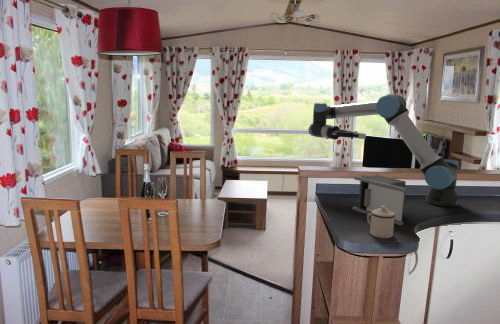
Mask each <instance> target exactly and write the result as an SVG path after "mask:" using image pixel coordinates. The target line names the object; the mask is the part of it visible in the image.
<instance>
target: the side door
mask: <svg viewBox="0 0 500 324" xmlns="http://www.w3.org/2000/svg"><path fill="white" fill-rule="evenodd" d="M403 200H404V192H403V191H399V190H395V189H391V188H387V187H383V186H379V185H375V184H371V183H369V185H368V189H365V200H364V206H366V207H367V211H369V212H372V210H375V209H378V208H381V206H386V209H388V210H390V211H392V212H394V213H395V217H394V220H398V221H402V219H403V215H402V211H403V212H404V206H403ZM402 222H403V221H402Z"/></svg>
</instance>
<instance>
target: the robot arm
mask: <svg viewBox="0 0 500 324" xmlns="http://www.w3.org/2000/svg"><path fill="white" fill-rule="evenodd" d="M312 111H313V115H312V117H313V118H312V123H311V124H310V125H309V127H308V133H309V135H310V136H312V137H315V138H322V139H325V140H338V139H339V138H348V139H349V138H350V140H353V139H359V140H361V139H362V140H366V135H367V133H361V132H358V131H357V130H355V131H351V130H345V129H341V128H340V127H339V126H337V125H331V124H327V120H333V119H343V118H355V117H365V116H377V115H378V116H380V117H381V118H383V119H384V120H385V122H386V123H387V125H389V126H393V128H394V129H395V130H396V132H397V133H398V135H399V137H400V138H401V139H402V140H403V142H404V143H405V144H406V146H407V147H408V149H409V150H410V152H411V153H412V155H413V156H414V158H416V160H417V161H418V164H420V167H419V170H420V171H421V173H422V175H423V176H424V180H425V183H426V184H427V185H428V186H429V187H430V188H429V190H428V192H427V194H426V197H425V202H426V203H428V204H431V205H435V206H439V207H457V206H458V205H459V199H458V195H457V180H458V172H459V171H458V169H459V167H460V166H459V161H458V160H453V159H444V158H443V156H440V155H437V154H436V153H435V151H434V149H433V148H432V147H431V145H430V144H429V142H428V141H427V140H426V138H425V137H424V136H423V134H422V133H421V131H420V130H419V128H418V127H417V126H416V125H415V123H414V122H413V121H412V119H411V118H410V117H409V113H410V111H409V109H408V108H407V102H406V100H405V98H404V97H403V96H402V95H399V94H392V93H387V94H384V95H383V96H381V97H380V98H378V100H373V101H365V102H364V101H363V102H356V103H347V104H346V103H345V104H340V105H339V104H337V105H329V106H328V104H327V103H325V102H315V103H314V104H313V110H312Z"/></svg>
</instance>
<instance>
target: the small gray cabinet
mask: <svg viewBox="0 0 500 324" xmlns="http://www.w3.org/2000/svg"><path fill="white" fill-rule="evenodd" d="M366 176H367V177H362V176H354V180H356V181H359V182H360V183H359V191H358V193H359V194H358V207H357V206H352V207H351V208H352V210H353V211H356V212H358V213H362V214H365V215H368V214H369V213H371V212H369V211H367V207H366V206H364V200H365V189H368V185H369V183H371V184H375V185H379V186H383V187H387V188H391V189H395V190H399V191H403V192H404V200H403V207H404V206H405V204H406V200H407V197H406V194H405V192H407V188H406V181H405V180H402V179H401V180H400V179H396V178H393V177H388V176H383V175H379V174H376V175H375V174H374V175H366ZM403 212H404V210H403V211H402V216H404V214H403ZM394 225H398V226H402V225H404V221H398V220H394Z"/></svg>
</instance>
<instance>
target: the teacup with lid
mask: <svg viewBox="0 0 500 324" xmlns="http://www.w3.org/2000/svg"><path fill="white" fill-rule="evenodd" d="M394 217H395V213H394V212H392V211H390V210H388V209H386V206H381V208H378V209H375V210H372V212H371V213H369V214H366V220H367V223H368V225H370V228H369V234H370V235H371V236H373V237H376V238H380V239H390V238H393V236H394V226H395V223H394Z"/></svg>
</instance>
